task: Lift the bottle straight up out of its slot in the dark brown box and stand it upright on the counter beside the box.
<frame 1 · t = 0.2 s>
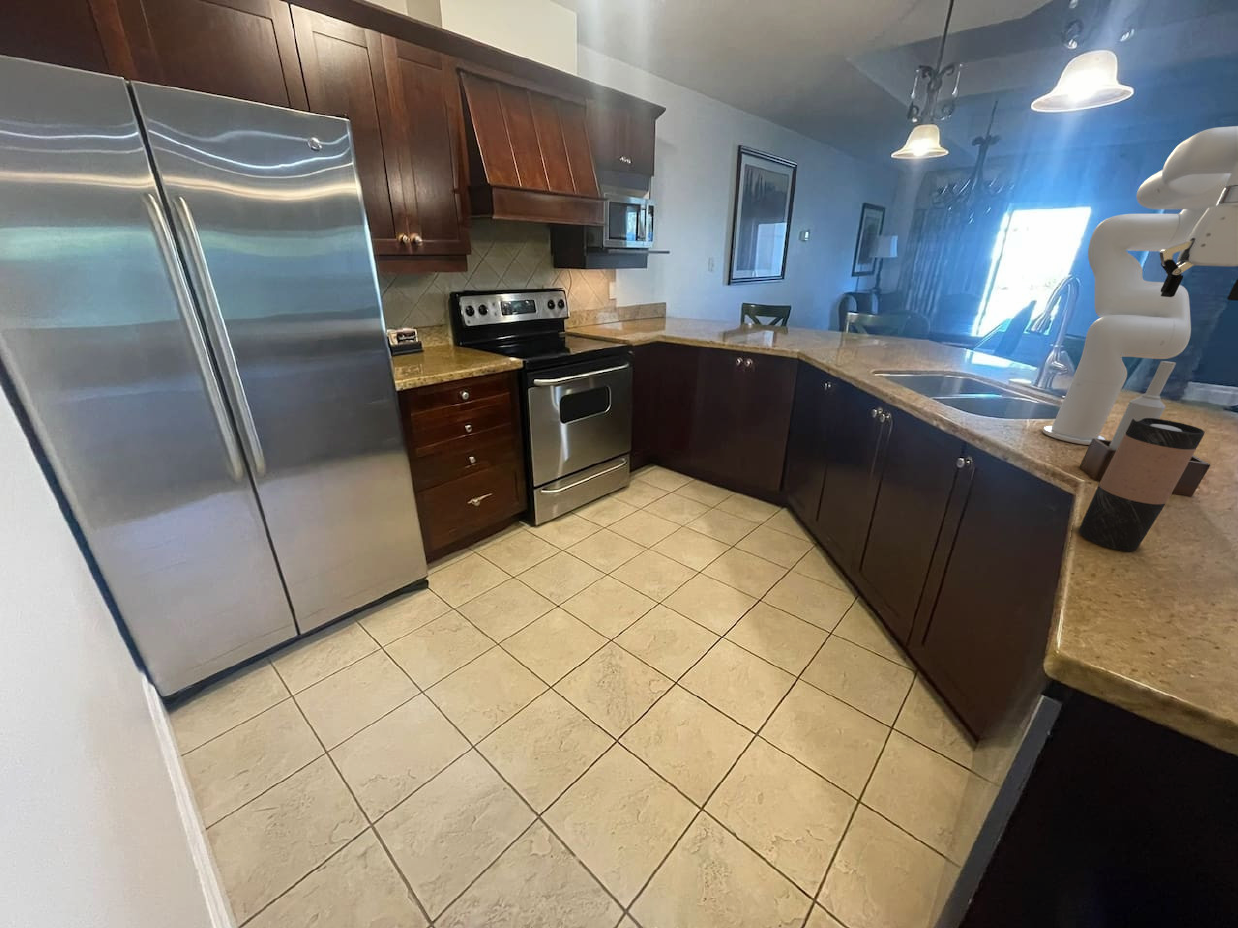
hand: (1199, 298, 92), 37 cm above the countertop, tool pointing down, fingers open, 9 cm apart
dark brown box: (1132, 480, 101), on the countertop
bottle: (1109, 477, 103), resting in dark brown box
travel mug: (1106, 540, 78), on the countertop
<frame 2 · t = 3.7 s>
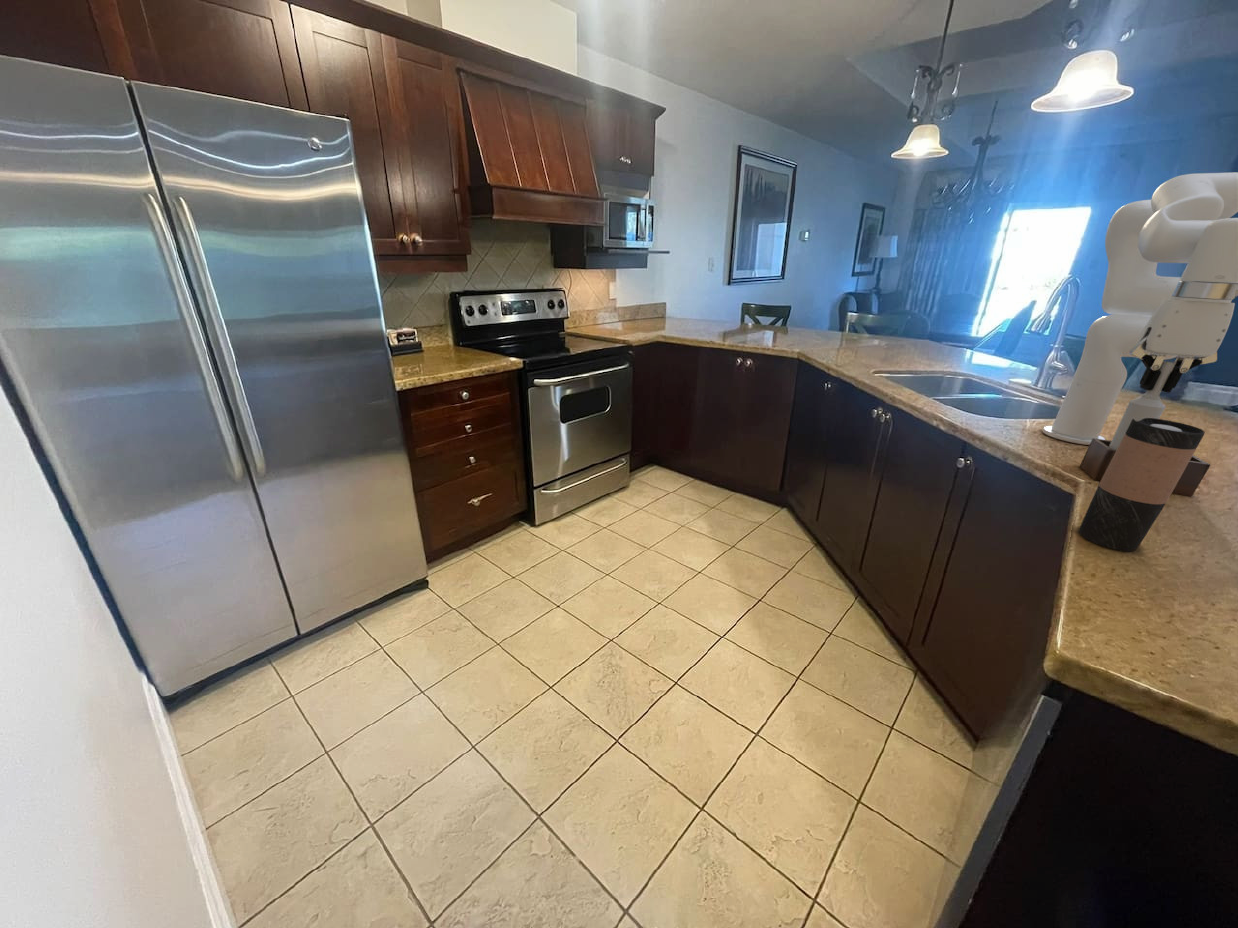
hand: (1154, 389, 95), 20 cm above the countertop, tool pointing down, fingers closed on bottle, 2 cm apart
bottle: (1109, 477, 103), resting in dark brown box, touching gripper
everything else where it was.
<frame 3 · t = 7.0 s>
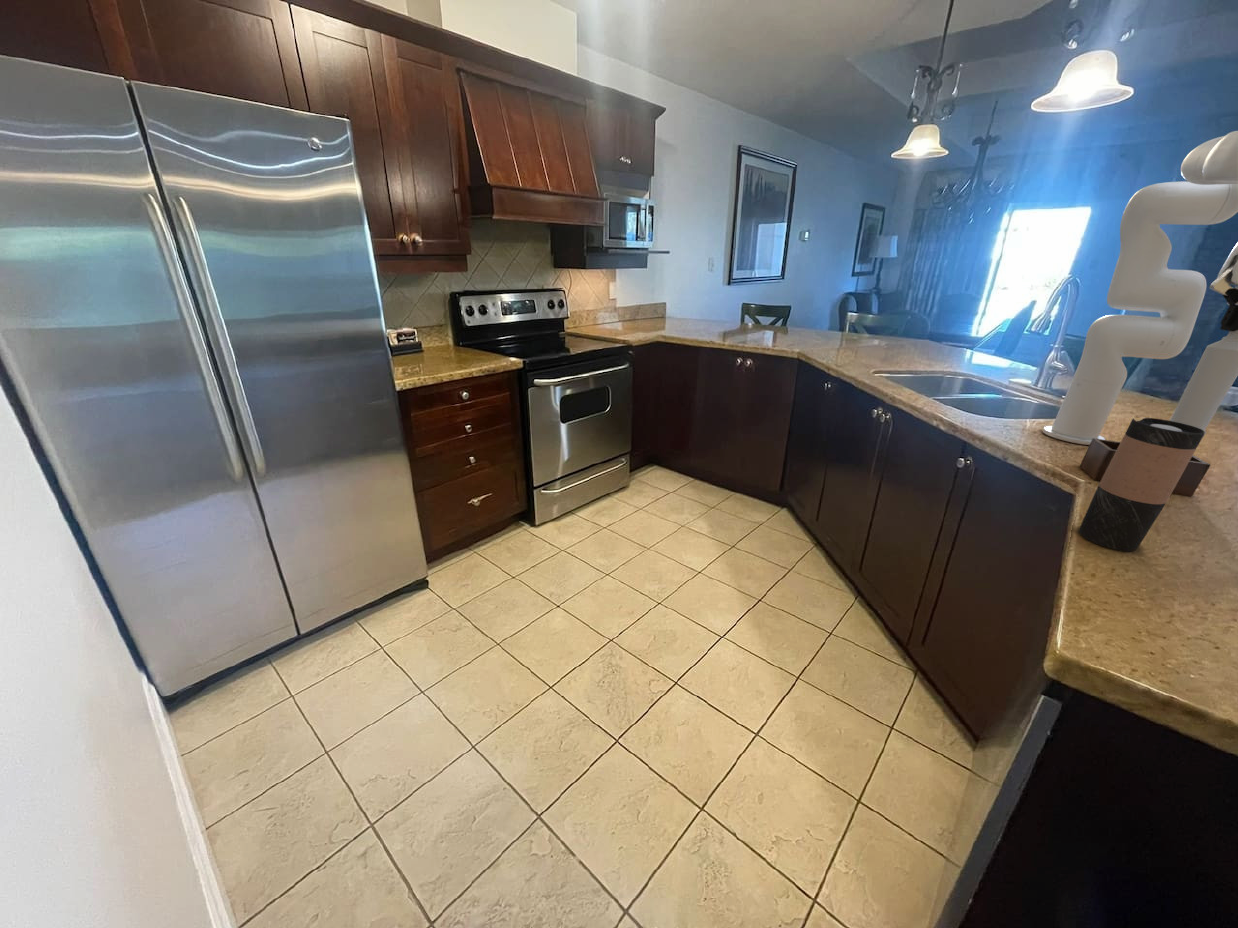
bottle: (1179, 438, 88), point 13 cm above the countertop, touching gripper
everything else where it was.
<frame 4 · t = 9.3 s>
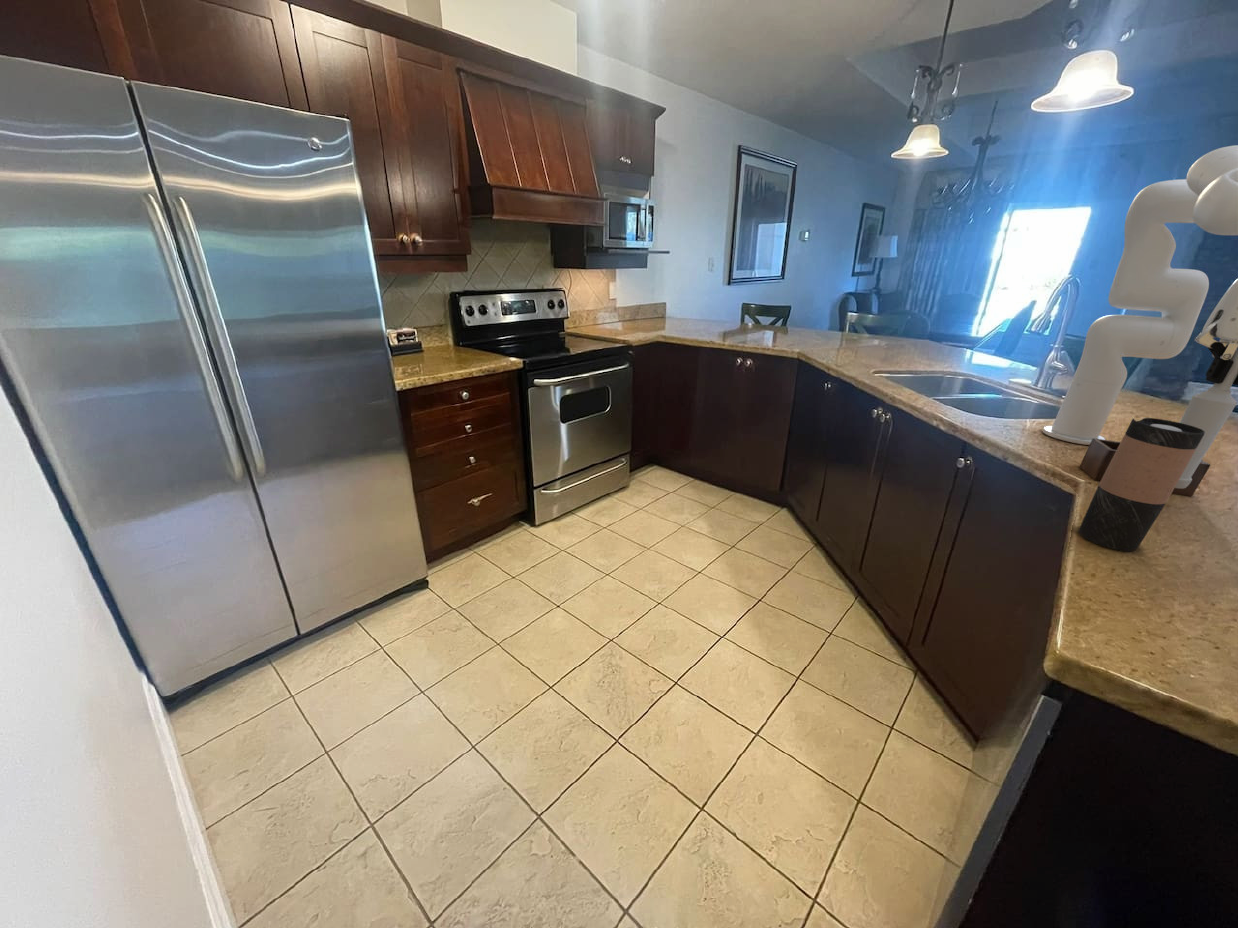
hand: (1224, 382, 82), 24 cm above the countertop, tool pointing down, fingers closed on bottle
bottle: (1166, 483, 90), point 4 cm above the countertop, touching gripper
everything else where it was.
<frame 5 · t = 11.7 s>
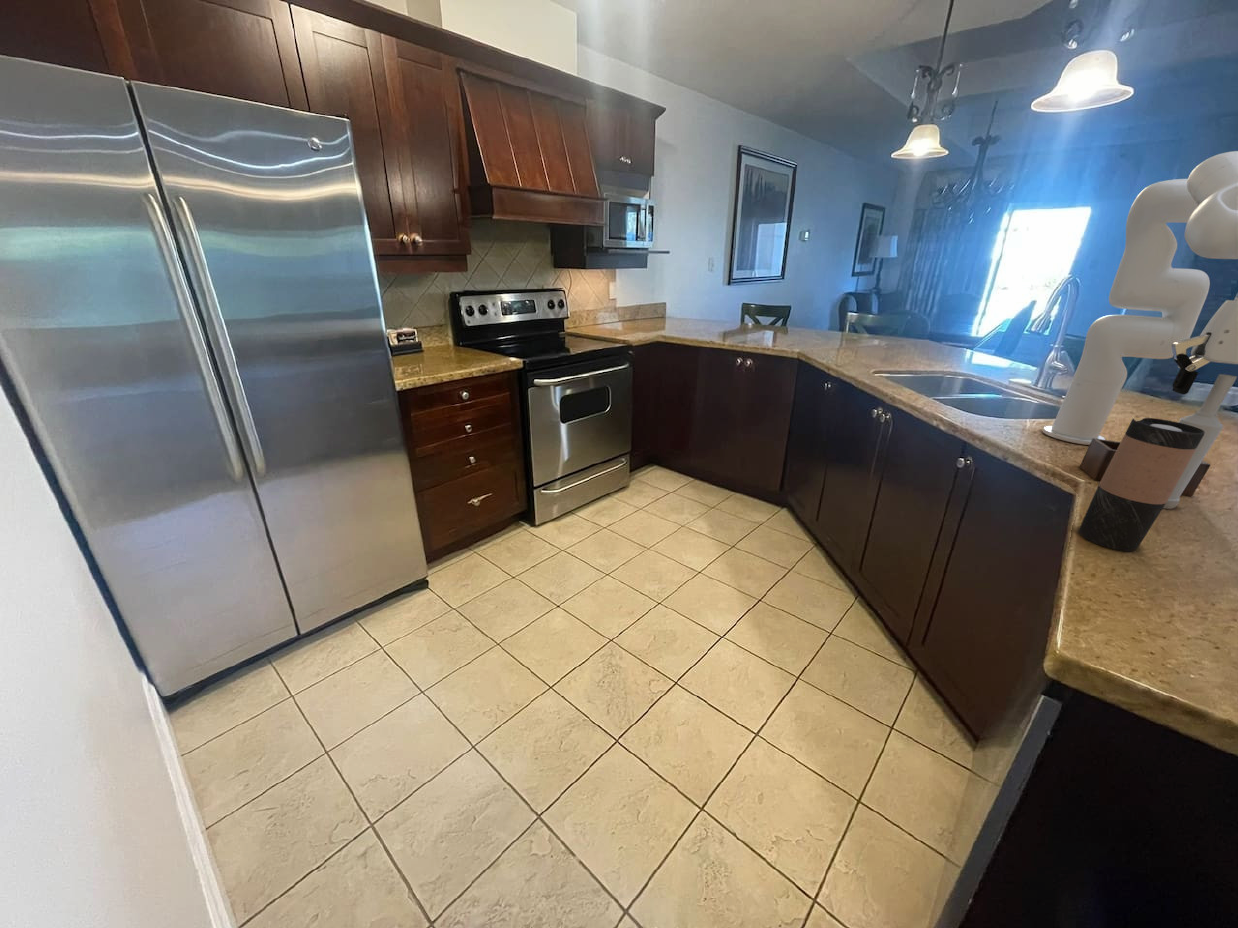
hand: (1216, 396, 83), 21 cm above the countertop, tool pointing down, fingers open, 9 cm apart
bottle: (1155, 503, 92), on the countertop
everything else where it was.
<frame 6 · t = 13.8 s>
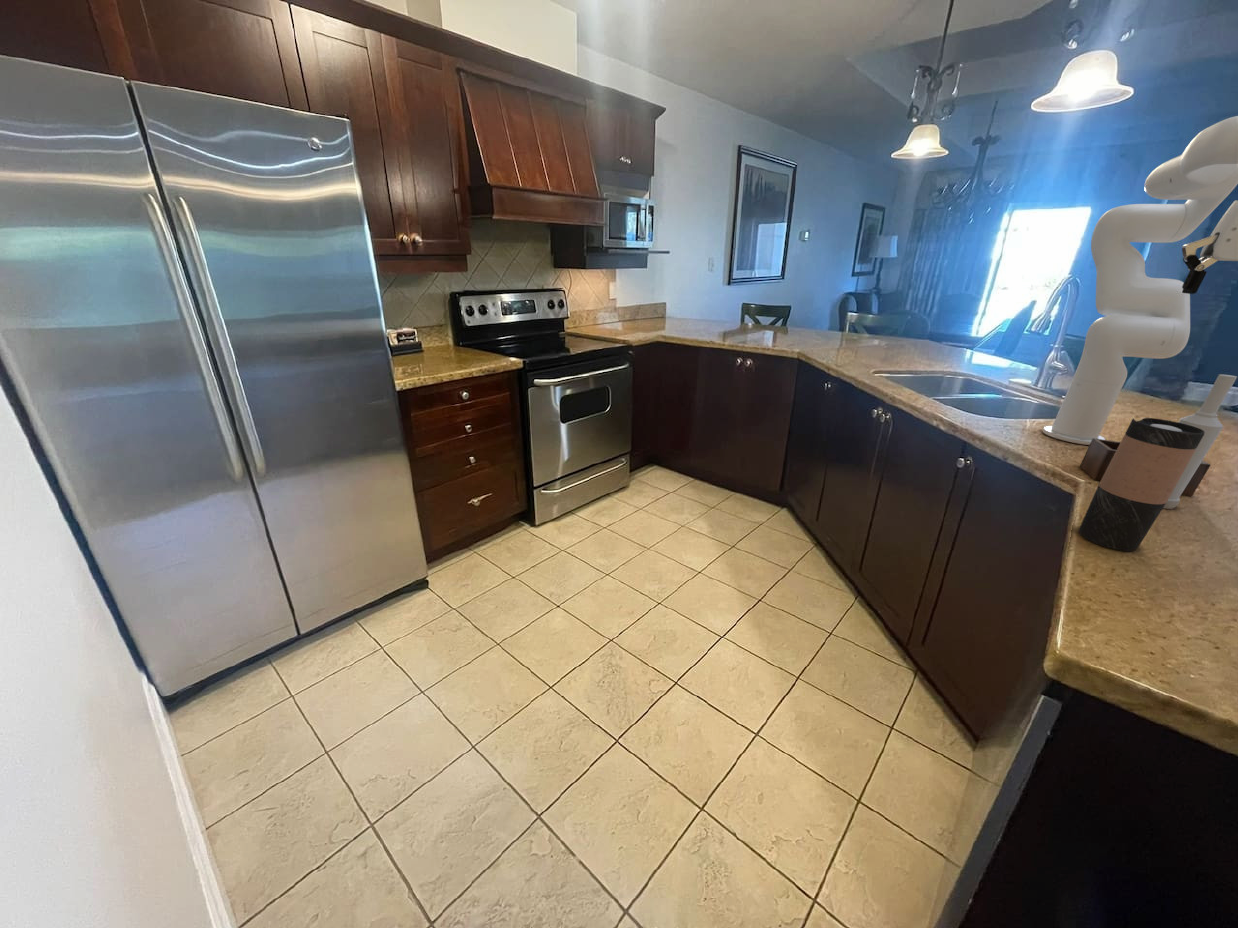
hand: (1223, 295, 89), 38 cm above the countertop, tool pointing down, fingers open, 9 cm apart
nothing on the countertop moved.
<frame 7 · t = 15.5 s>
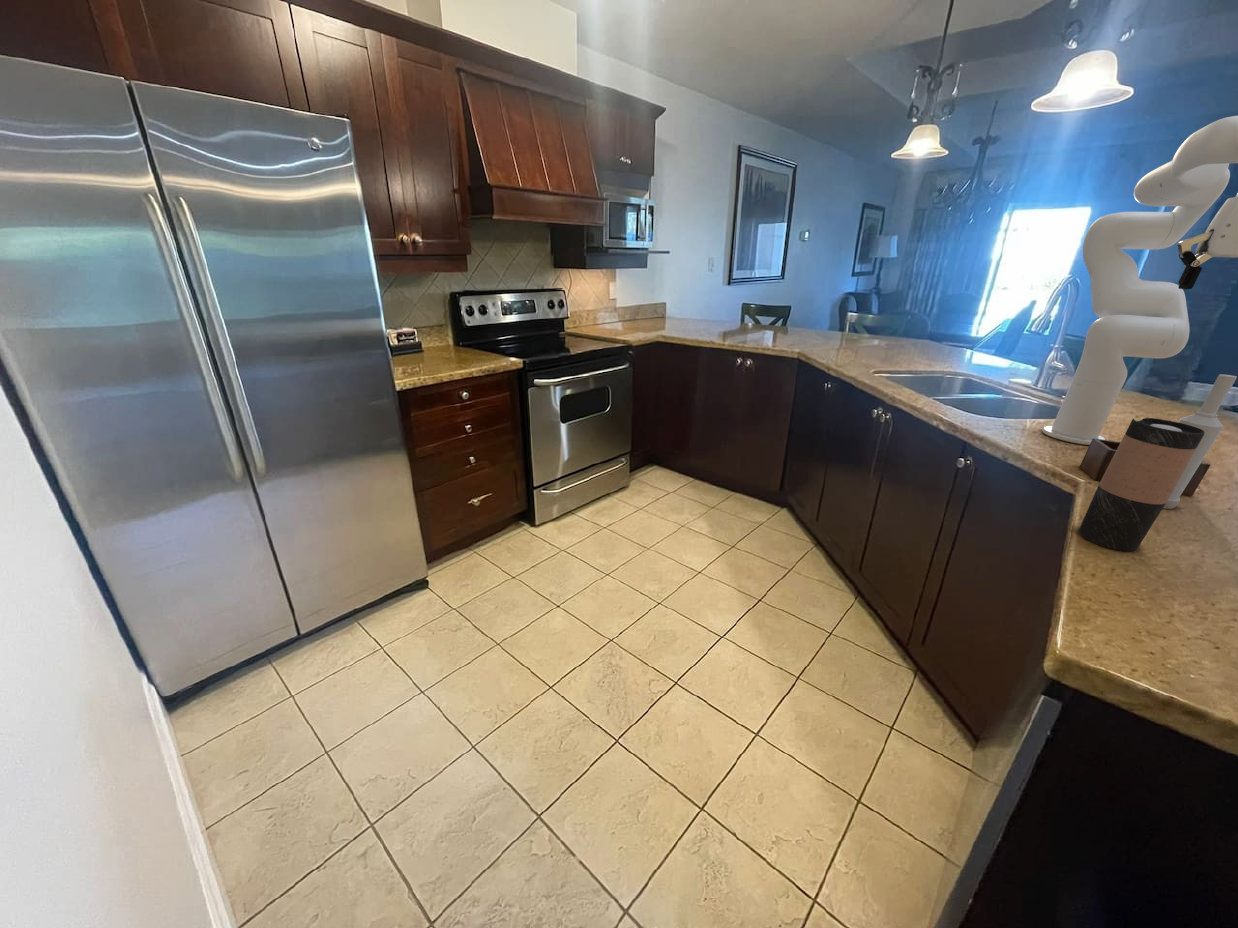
hand: (1218, 290, 90), 38 cm above the countertop, tool pointing down, fingers open, 9 cm apart
nothing on the countertop moved.
at the end: bottle 0.0 cm from the target spot, on the countertop; bottle tilted 0°; the gripper is holding nothing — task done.
